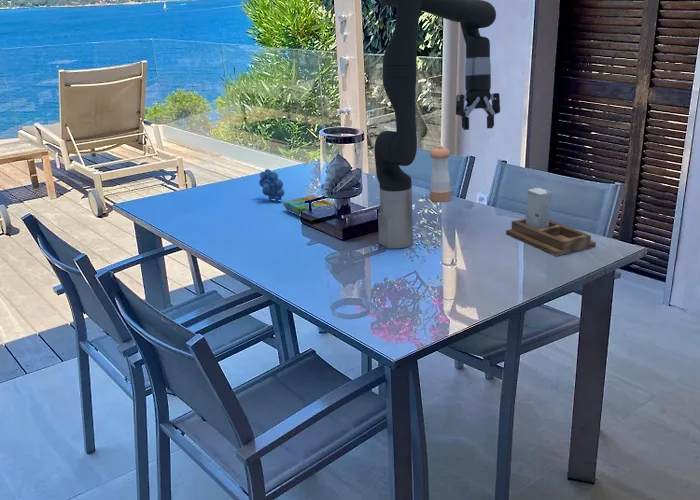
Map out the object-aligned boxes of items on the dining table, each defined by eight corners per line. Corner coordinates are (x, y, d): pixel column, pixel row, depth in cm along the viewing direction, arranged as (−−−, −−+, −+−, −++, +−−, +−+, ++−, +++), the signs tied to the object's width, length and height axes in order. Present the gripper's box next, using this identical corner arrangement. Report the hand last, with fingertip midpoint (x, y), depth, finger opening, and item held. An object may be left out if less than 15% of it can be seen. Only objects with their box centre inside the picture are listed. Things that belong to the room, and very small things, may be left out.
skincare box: (524, 228, 205) (525, 189, 201) (536, 225, 207) (538, 187, 203) (537, 234, 200) (539, 194, 196) (550, 231, 201) (552, 191, 197)
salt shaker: (426, 198, 245) (425, 145, 239) (443, 195, 248) (443, 142, 241) (437, 203, 239) (436, 149, 232) (454, 199, 242) (454, 146, 235)
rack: (556, 256, 187) (556, 243, 185) (506, 234, 206) (506, 222, 204) (595, 246, 192) (596, 234, 191) (543, 225, 211) (543, 214, 210)
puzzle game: (312, 193, 244) (342, 204, 228) (313, 205, 246) (343, 218, 230) (283, 199, 238) (312, 212, 222) (284, 212, 240) (313, 225, 224)
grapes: (253, 202, 253) (249, 170, 249) (266, 197, 258) (262, 166, 254) (276, 206, 246) (273, 173, 242) (289, 201, 251) (286, 169, 247)
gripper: (464, 73, 198) (464, 130, 201) (505, 72, 203) (505, 128, 207) (450, 75, 205) (451, 130, 208) (490, 74, 210) (490, 127, 214)
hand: (478, 129), depth 208 cm, fingers open, 8 cm apart
